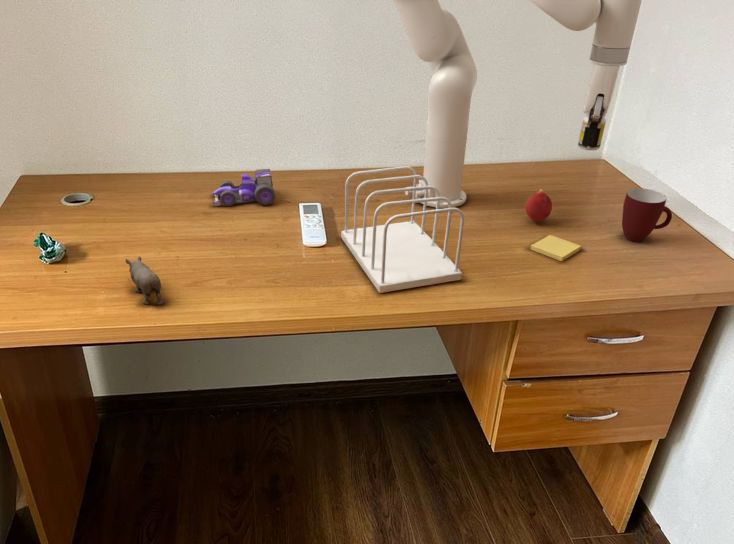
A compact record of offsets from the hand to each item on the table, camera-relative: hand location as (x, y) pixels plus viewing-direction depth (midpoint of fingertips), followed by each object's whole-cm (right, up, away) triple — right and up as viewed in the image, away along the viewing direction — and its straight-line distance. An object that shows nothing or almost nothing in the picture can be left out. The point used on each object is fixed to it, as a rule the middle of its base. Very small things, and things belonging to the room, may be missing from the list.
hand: (589, 141), depth 148 cm
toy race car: (-80, -10, +16) cm, 82 cm away
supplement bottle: (0, -1, +1) cm, 2 cm away
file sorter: (-44, -28, -9) cm, 53 cm away
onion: (-10, -17, +6) cm, 21 cm away
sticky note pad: (-9, -25, -5) cm, 27 cm away
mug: (+11, -22, -1) cm, 24 cm away
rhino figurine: (-93, -35, -20) cm, 102 cm away
